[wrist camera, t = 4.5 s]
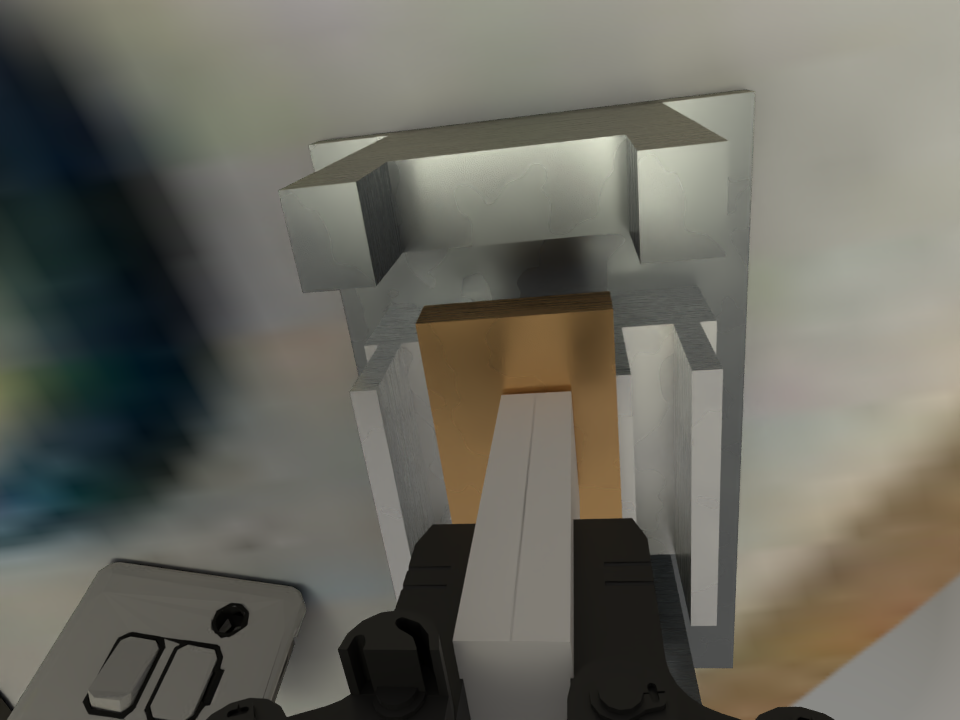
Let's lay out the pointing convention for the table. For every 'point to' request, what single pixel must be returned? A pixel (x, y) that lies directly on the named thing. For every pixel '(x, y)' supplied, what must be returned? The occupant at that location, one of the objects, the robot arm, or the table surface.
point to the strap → (522, 386)
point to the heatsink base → (557, 271)
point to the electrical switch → (165, 647)
